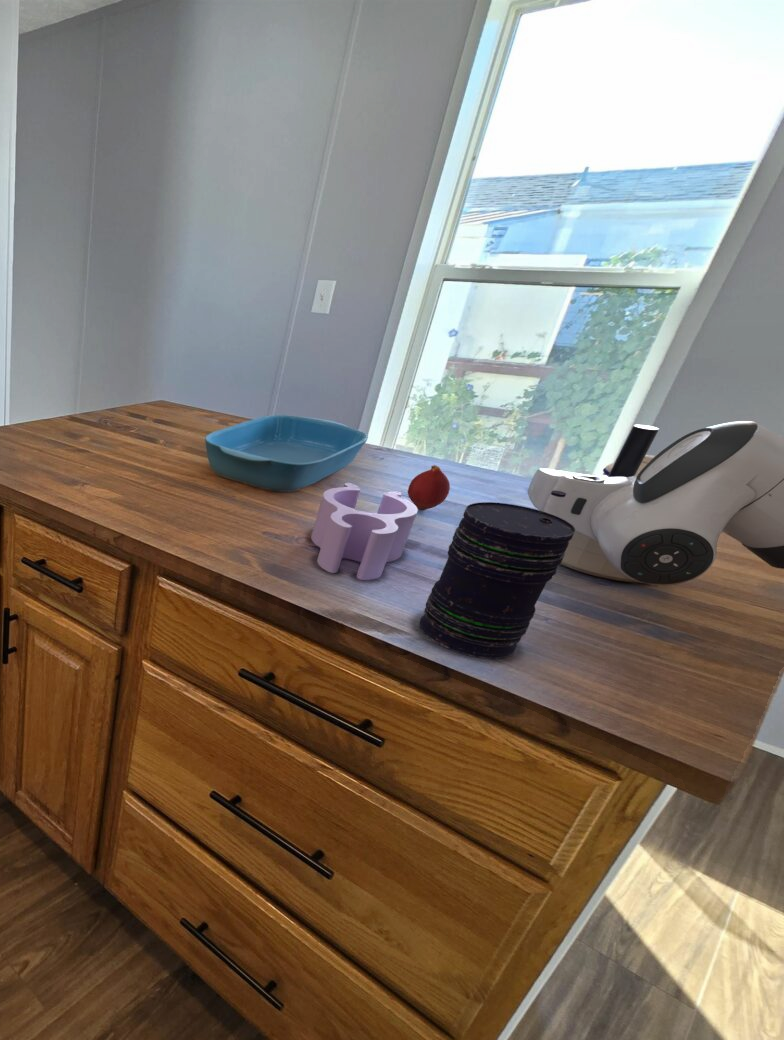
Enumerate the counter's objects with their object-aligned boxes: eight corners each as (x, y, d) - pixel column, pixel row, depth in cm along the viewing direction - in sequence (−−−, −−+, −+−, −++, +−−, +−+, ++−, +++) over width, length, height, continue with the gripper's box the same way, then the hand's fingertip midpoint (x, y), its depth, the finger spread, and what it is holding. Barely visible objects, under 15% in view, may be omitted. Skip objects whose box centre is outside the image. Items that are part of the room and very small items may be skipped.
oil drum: (446, 657, 73) (513, 507, 64) (401, 612, 82) (455, 474, 73) (537, 661, 73) (617, 510, 64) (483, 615, 82) (547, 477, 73)
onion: (423, 503, 116) (439, 459, 112) (448, 515, 111) (466, 470, 107) (394, 504, 115) (409, 460, 111) (418, 517, 110) (435, 471, 106)
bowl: (658, 553, 99) (680, 516, 96) (687, 597, 87) (713, 557, 84) (525, 529, 106) (542, 494, 103) (535, 566, 94) (553, 528, 91)
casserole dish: (289, 507, 113) (300, 467, 109) (178, 474, 127) (185, 438, 124) (374, 465, 134) (385, 430, 131) (271, 441, 149) (279, 409, 145)
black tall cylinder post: (605, 544, 97) (668, 425, 89) (612, 557, 93) (679, 435, 84) (558, 535, 100) (615, 419, 91) (563, 548, 96) (623, 428, 87)
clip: (397, 588, 88) (414, 541, 84) (298, 565, 93) (311, 520, 90) (403, 537, 103) (419, 495, 99) (318, 519, 108) (329, 479, 105)
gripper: (765, 506, 76) (728, 475, 86) (547, 474, 85) (537, 448, 96) (734, 555, 79) (701, 519, 89) (527, 519, 88) (519, 490, 99)
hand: (615, 482), depth 92 cm, fingers closed on black tall cylinder post, 2 cm apart
